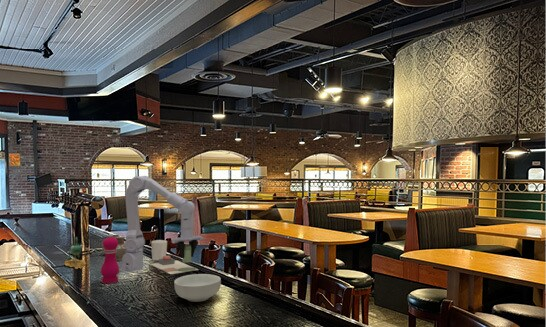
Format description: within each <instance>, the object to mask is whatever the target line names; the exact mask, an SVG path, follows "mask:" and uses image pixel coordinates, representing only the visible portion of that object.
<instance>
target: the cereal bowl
mask: <svg viewBox="0 0 546 327" xmlns="http://www.w3.org/2000/svg"><path fill="white" fill-rule="evenodd" d="M173 282H174V283H173V284H174V290H175V293H176V295H178V297H180V298H182V299H185V300H187V301H189V302H193V303H195V302H197V303H198V302H200V303H201V302H205V301H207V300H209V298H211V297H214V296H215V295H217V294H218V292H219V291H220V288H221V285H222V280H221V277H220V276H218V275H215V274H209V273H198V274H197V273H194V274H187V275H183V276H180V277H178V278H175V280H173Z"/></svg>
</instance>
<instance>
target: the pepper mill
mask: <svg viewBox="0 0 546 327" xmlns="http://www.w3.org/2000/svg"><path fill="white" fill-rule="evenodd" d="M113 235H114V234H113V233H109V234H107V236H109V238H107V237H106V238H105V239H104V240H103V241H102V244H103V247H104V248H105V249H103V254H104V256H105V257H104V261H103V264H102V265H101V269H100V274H101V275H102V277H101V283H103V284H115V283H117V282H118V281H119V277H118V274H119V273H120V266H119V264H118V261H116V252H117V249H116V247H117V246H118V240H117V239H116V238H114V237H113ZM103 247H102V248H103Z"/></svg>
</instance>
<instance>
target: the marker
mask: <svg viewBox="0 0 546 327" xmlns="http://www.w3.org/2000/svg"><path fill="white" fill-rule="evenodd" d="M181 259H182V263H184V264H186V263H187V264H188V263H191V262H192V257H191V245H189V244H185V249H184V258H181Z"/></svg>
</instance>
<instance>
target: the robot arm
mask: <svg viewBox="0 0 546 327" xmlns="http://www.w3.org/2000/svg"><path fill="white" fill-rule="evenodd" d="M145 190H150V191H151V190H152V191H153V192H156V193H157V194H159V195H160V196H161V197H163V198H165V199H166V202H167V203H168V204H169V205H170V206H172V207H174V208H175V209H177V210H179V212H180V215H181V216H180V237H175V238H171V243H172V244H176V247H177V248H178V252H179V256H180V259H182V258H184V249H185V245H186V243H188V245H191V258H193V257H194V254H195V252H196V248H197V246H198V245H199V241H202V240H203V236H202V235H194V227H195V226H194V225H195V224H194V221H195V220H194V216H195V215H194V212H195V210H196V205H195V203H194V202H193V201H190V200H188V199H187V198H184V197H182V195H180V193H179V191H177V192H173V191H172V192H170V191H169V190H168V189H166V187H164V186H162V185H161V184H160V183H159V182H157V181H156V180H154V179H153V178H150V177H149V176H147V175H141V176H139V175H135V176H133V177H132V178H131V179H130V180H129V182H128V185H127V188H126V191H125V192H124V196H125V197H124V198H125V208H126V210H125V211H126V220H127V233H126V234H125V240H124V245H125V249H126V250H127V252H126V254H124V255H123V257H122V261H121V271H125V272H135V271H137V270H138V271H139V270H141V269H143V267H144V266H143V264H144V262H143V260H144V256H143V254H144V249H143V247H144V246H145V245H146V240H145V238H144V235H143V231H142V230H141V226H140V212H139V198H138V196H139V195H140V194H141V193H143V192H144V191H145ZM184 242H185V243H184Z"/></svg>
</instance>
